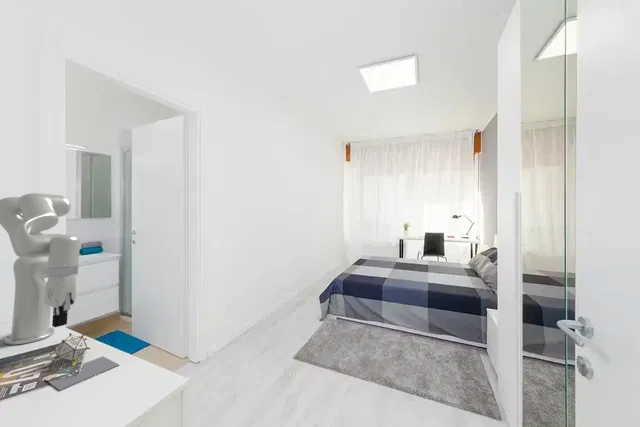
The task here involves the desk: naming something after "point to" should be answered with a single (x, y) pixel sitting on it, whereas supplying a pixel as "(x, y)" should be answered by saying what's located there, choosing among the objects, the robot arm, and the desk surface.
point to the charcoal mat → (85, 372)
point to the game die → (71, 348)
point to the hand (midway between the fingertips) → (59, 325)
